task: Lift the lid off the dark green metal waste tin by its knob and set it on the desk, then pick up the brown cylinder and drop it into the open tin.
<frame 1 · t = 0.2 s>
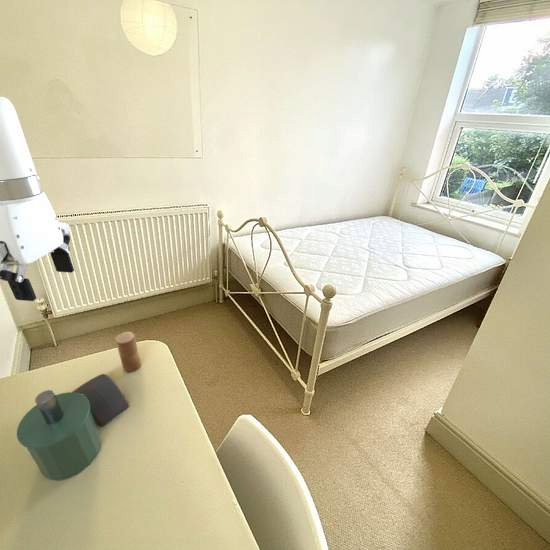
hand: (47, 284, 55), 33 cm above the table, tool pointing down, fingers open, 9 cm apart
brown cylinder: (132, 366, 82), on the table
dark grey flat block: (100, 402, 72), on the table
waste tin: (72, 452, 62), on the table
tin lid: (55, 419, 57), point 10 cm above the table, touching waste tin
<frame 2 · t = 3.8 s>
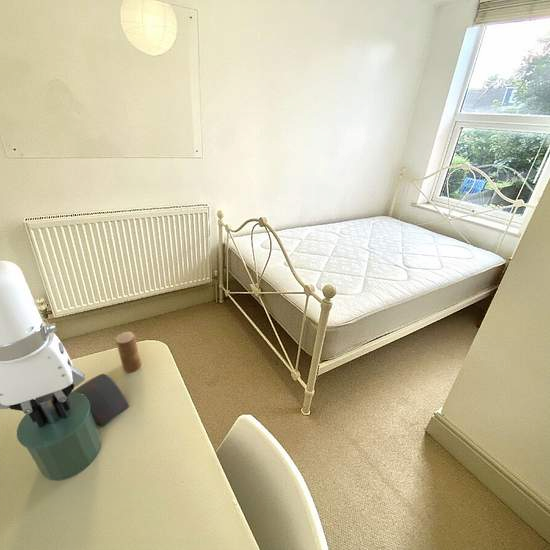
hand: (54, 415, 56), 12 cm above the table, tool pointing down, fingers closed on tin lid, 2 cm apart
tin lid: (55, 419, 57), point 11 cm above the table, touching gripper, waste tin
everything else where it was.
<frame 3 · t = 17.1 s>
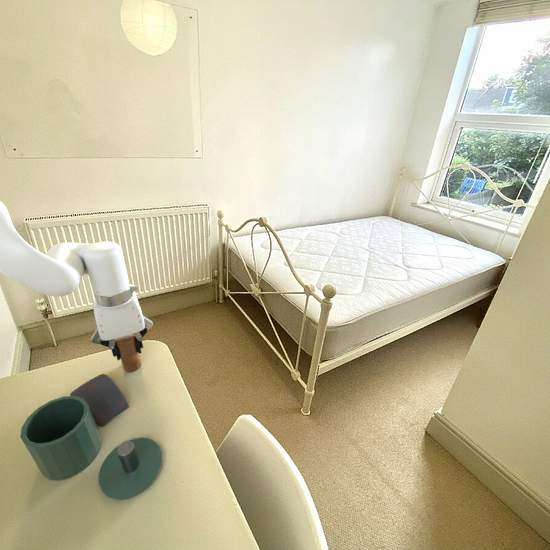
hand: (128, 352, 80), 5 cm above the table, tool pointing down, fingers closed on brown cylinder, 4 cm apart
brown cylinder: (132, 366, 82), on the table, touching gripper
tin lid: (131, 467, 59), point 1 cm above the table
everything else where it was.
when the fingers open (13 cm above the table, at t = 22.8 s): brown cylinder drops 7 cm, resting on waste tin.
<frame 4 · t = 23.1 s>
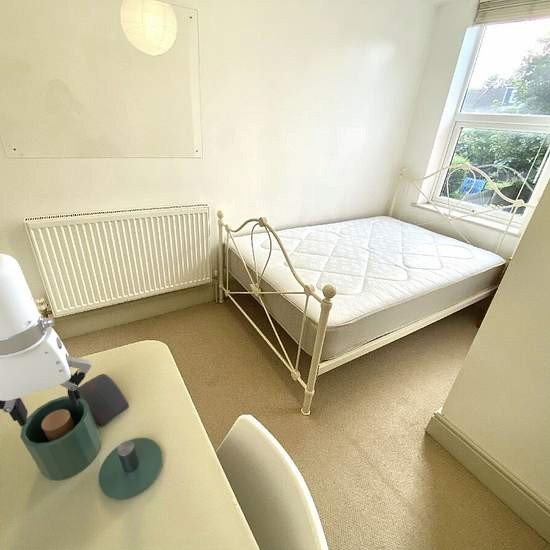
hand: (50, 409, 55), 13 cm above the table, tool pointing down, fingers open, 7 cm apart
brown cylinder: (71, 451, 61), point 1 cm above the table, touching waste tin
everything else where it was.
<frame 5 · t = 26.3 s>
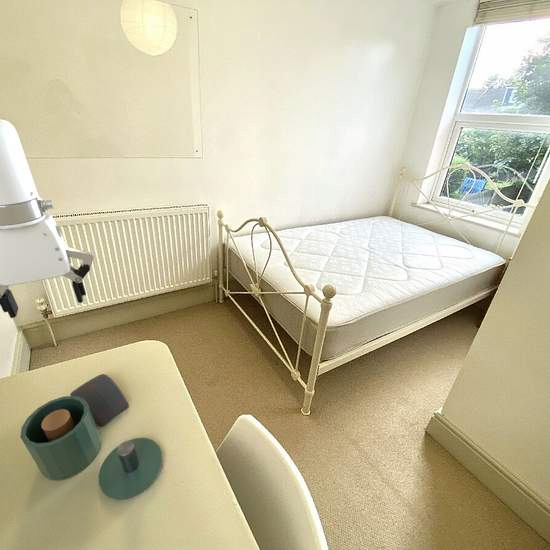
hand: (49, 305, 54), 30 cm above the table, tool pointing down, fingers open, 9 cm apart
nothing on the table moved.
at the end: brown cylinder inside the target area in the waste tin (0.0 cm from its centre), point 0.5 cm above the waste tin's base; tin lid inside the target area (0.1 cm from its centre), point 0.6 cm above the table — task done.
